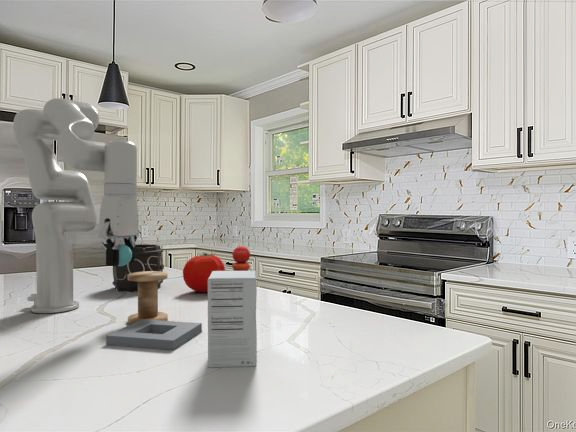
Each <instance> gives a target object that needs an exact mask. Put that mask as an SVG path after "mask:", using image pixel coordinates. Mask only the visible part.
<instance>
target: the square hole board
mask: <svg viewBox="0 0 576 432" xmlns="http://www.w3.org/2000/svg"><path fill="white" fill-rule="evenodd" d="M202 324H203V323H201V322H191V321H190V322H188V321H173V320H172V321H171V320H167V321H160V320H144V319H142V320H140V321H137V322H135V323H133V324H131V325H130V324H128V325H126V326H125V327H121V328H120V329H117V330H115V331H112V332H111V333H108V334H106V335H105V338H106V339H105V345H107V346H120V347H130V348H131V347H133V348H142V349H144V348H145V349H156V350H168V351H175V350H176V349H177V348H179V347H180V346H182V345H183V344H185V343H186V342H188V341H189V340H191V339H192V338H194V337H195V336H198V334H200V333H202V331H203V329H202V328H203V326H202Z"/></svg>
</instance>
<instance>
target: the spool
mask: <svg viewBox="0 0 576 432" xmlns="http://www.w3.org/2000/svg"><path fill="white" fill-rule="evenodd" d="M166 279H168V272H166V271H163V272H162V271H144V272H135V273H130V274H128V280H129V281H136V282H138V292H137V312H136V313H133V314H131V315H129V316H127V324H128V325H131V324H133V323H135V322H137V321H140V320H142V319H144V320H160V321H169V320H168V319H169V318H168V313H166V312H162V311H159V297H158V296H159V294H158V293H159V290H158V289H159V288H158V280H163V281H164V280H166Z"/></svg>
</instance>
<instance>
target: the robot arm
mask: <svg viewBox="0 0 576 432" xmlns="http://www.w3.org/2000/svg"><path fill="white" fill-rule="evenodd" d="M99 123H100V116H99V112H98V110H97V109H96V108H95V106H93V105H92V104H90V103H87V102H81V101H77V100H73V99H68V98H63V97H59V98H58V97H55V98H51V99H49V100H48V101H47V102H46V103H45V104H44V106H43V110H42V109H35V108H26V109H21V110H20V111H18V112H16V114H15V116H14V118H13V136H14V139H15V142H16V145H17V147H18V149H19V152H21V154H22V156H23V159H24V161H25V167H26V170H27V171H26V172H27V176H28V179H29V184H30V187H31V191H32V194H33V196H34V197H35V198H37V199H38V200H43V201H44V202H41V203H38V204H37V205H35V207H34V208H33V210H32V212H31V221H32V226H33V231H34V237H35V253H36V254H35V255H36V256H35V257H36V261H35V262H36V263H35V264H36V293H31V294H30V295H29V296H28V297H27V301H28V302H33V305H32V306H30V312H32V313H36V314H54V313H63V312H68V311H72V310H75V309H78V308H79V307H80V302H78V301H77V300H74V250H73V245H72V244H71V241H70V240H69V239H68V238H67V236H65V235H66V234H67V235H68V234H82V233H84V234H85V233H89V232H92V230H93V231H94V229H95V228H96V225H97V221H98V218H97V216H98V215H97V211H96V206H95V203H94V199H93V194H92V190H91V186H90V183H89V180H88V179H87V177H86V176H85V175H84V174H83V173H82V172H80V171H89V172H100V173H103V174H104V175H103V176H104V177H103V180H104V181H103V183H104V184H103V185H104V186H103V188H104V191H103V193H104V195H103V196H102V199H101V203H100V209H99V222H98V235H97V236H98V238H99V240H100V241H101V242H102V244H103V246H104V247H103V248H104V249H105V265H106V266H109V267H113V266H118V265H119V249H117V246H118V244H119V242H120V238H121V240H122V244H124V245H126V246H128V247H129V248H130V249H131V251H132V258H131V261H130V262H129V263H133V262H134V247H135V245H136V242H137V239H138V237H139V235H140V233H141V232H140V229H139V208H138V207H139V206H138V201H137V197H138V196H137V195H138V194H137V192H138V191H137V189H138V182H137V181H138V179H137V178H138V177H137V176H138V174H137V173H138V149H137V145H136V144H135V143H134V142H132V141H127V140H110V141H106V142H101V141H95V140H92V139H93V137H94V135H95V130H96V129H97V128H98V126H99ZM44 140H48V141H49V140H50V141H57V149H58V152H59V155H60V157H62V159H63V160H64V161H65V162H66V163H67V164H68V165H69V166H70V167H71V168H73V169H75V170H70V169H69V170H68V169H62V168H61V167H60V165H59V161H58V158H57V155H56V153H55V152H54V151H53V149H52V148H51V147H50V146H49V145H48V144H47V143H46V142H44ZM77 170H78V171H77ZM45 201H46V202H45Z"/></svg>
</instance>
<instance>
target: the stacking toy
mask: <svg viewBox="0 0 576 432" xmlns="http://www.w3.org/2000/svg"><path fill="white" fill-rule="evenodd" d="M250 257H251V252H250V250H249V248H248V247H246V246H243V245H239V246H236V247H235V248H234V250H232V259H233V260H234V262H233V263H232V264H231V265H232V269H233V270H232V271H250V267H251V265H250V263H248V261H249V260H250Z"/></svg>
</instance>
